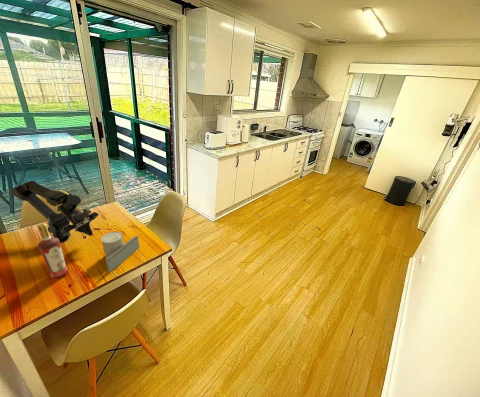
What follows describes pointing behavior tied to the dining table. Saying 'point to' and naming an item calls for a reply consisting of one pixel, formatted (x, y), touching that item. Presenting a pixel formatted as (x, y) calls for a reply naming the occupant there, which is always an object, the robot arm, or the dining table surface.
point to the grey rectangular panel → (122, 253)
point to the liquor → (52, 253)
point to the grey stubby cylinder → (111, 242)
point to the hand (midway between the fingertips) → (91, 235)
